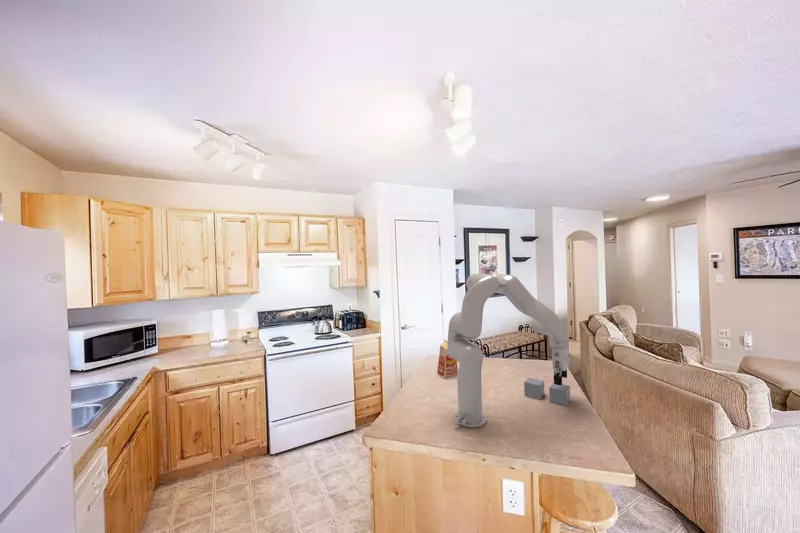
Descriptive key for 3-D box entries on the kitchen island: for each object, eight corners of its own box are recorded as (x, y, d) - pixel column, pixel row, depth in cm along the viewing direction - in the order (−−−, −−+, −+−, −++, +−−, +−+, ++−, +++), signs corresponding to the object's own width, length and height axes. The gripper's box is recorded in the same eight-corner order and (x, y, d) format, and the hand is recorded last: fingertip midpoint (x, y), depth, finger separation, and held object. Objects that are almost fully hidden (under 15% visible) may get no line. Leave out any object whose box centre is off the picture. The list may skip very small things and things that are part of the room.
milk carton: (436, 374, 181) (435, 339, 180) (450, 371, 184) (449, 337, 184) (445, 379, 172) (444, 343, 172) (459, 376, 176) (458, 340, 176)
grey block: (566, 406, 138) (566, 391, 138) (549, 401, 143) (549, 387, 143) (570, 400, 144) (570, 385, 144) (553, 396, 148) (553, 382, 148)
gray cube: (540, 399, 145) (539, 385, 145) (524, 395, 150) (524, 382, 150) (544, 394, 151) (544, 380, 151) (529, 390, 155) (528, 377, 155)
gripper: (564, 349, 134) (565, 389, 134) (572, 339, 147) (573, 376, 148) (545, 346, 138) (546, 385, 139) (555, 337, 152) (556, 373, 152)
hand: (560, 380), depth 143 cm, fingers open, 9 cm apart
